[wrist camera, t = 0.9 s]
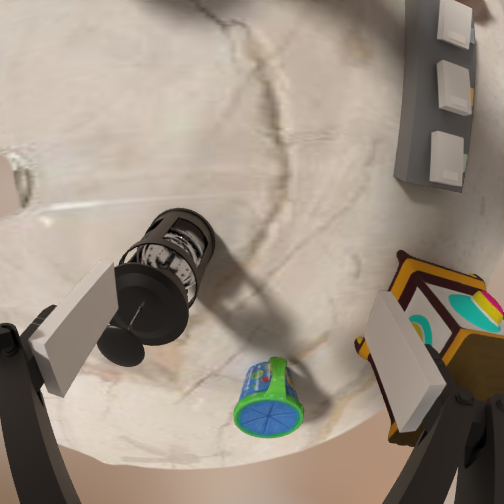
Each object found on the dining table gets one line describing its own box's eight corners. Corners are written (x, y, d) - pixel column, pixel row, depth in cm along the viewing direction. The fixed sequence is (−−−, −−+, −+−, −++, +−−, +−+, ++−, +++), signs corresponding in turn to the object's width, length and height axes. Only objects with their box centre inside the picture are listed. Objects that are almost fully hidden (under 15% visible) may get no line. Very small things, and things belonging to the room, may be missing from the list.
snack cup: (250, 334, 50) (247, 380, 40) (313, 348, 51) (322, 393, 41) (228, 396, 56) (223, 440, 46) (282, 406, 57) (284, 449, 47)
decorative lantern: (341, 346, 50) (384, 514, 23) (392, 236, 43) (518, 388, 15) (432, 359, 52) (495, 488, 24) (484, 267, 44) (594, 382, 17)
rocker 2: (436, 63, 29) (443, 59, 27) (461, 72, 29) (469, 69, 27) (438, 108, 30) (446, 105, 29) (464, 116, 30) (472, 113, 29)
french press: (144, 204, 42) (49, 287, 21) (212, 201, 42) (162, 291, 20) (155, 282, 47) (92, 396, 25) (218, 282, 46) (188, 408, 25)
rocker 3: (431, 132, 33) (438, 130, 31) (456, 139, 33) (464, 137, 31) (429, 180, 34) (436, 180, 32) (454, 186, 34) (462, 186, 32)
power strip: (403, -35, 27) (415, -46, 23) (456, -14, 27) (471, -21, 23) (393, 176, 39) (406, 182, 35) (447, 186, 39) (462, 193, 35)
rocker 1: (440, -3, 24) (446, -4, 23) (465, 8, 24) (472, 8, 23) (436, 38, 28) (443, 39, 26) (462, 48, 28) (469, 49, 26)
